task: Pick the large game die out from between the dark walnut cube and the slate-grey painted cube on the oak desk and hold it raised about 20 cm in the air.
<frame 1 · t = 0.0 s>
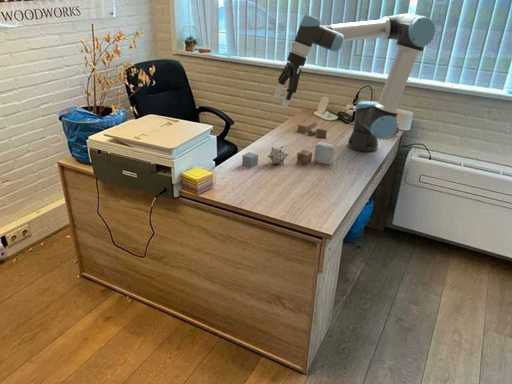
hand: (280, 102, 187), 28 cm above the table, tool tilted 20°, fingers open, 13 cm apart
game die: (277, 164, 198), on the table
wooden block set: (317, 132, 240), on the table
slate grey cube: (250, 165, 195), on the table
medicine box: (323, 162, 201), on the table
walnut cube: (304, 162, 200), on the table
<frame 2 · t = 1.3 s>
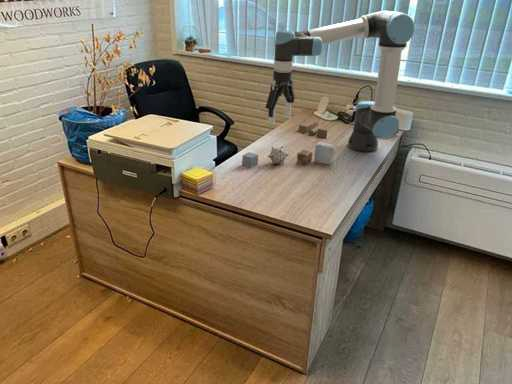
hand: (279, 120, 188), 21 cm above the table, tool pointing down, fingers open, 13 cm apart
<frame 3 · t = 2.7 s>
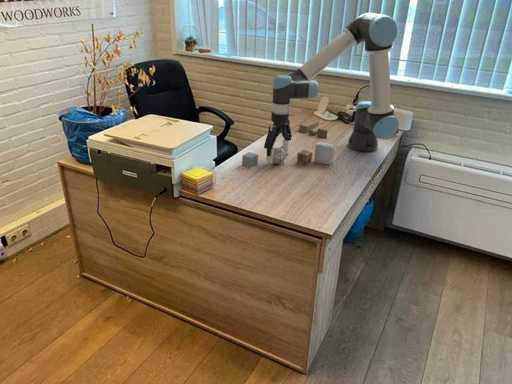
hand: (277, 157, 196), 3 cm above the table, tool pointing down, fingers open, 13 cm apart
nothing on the table moved.
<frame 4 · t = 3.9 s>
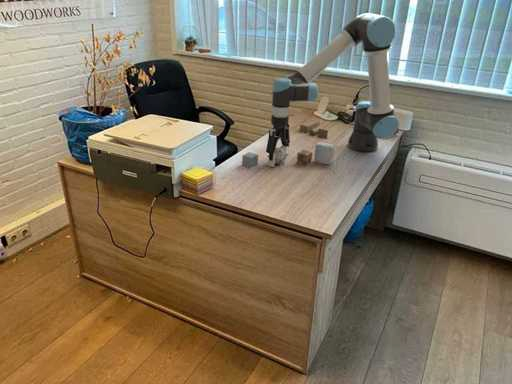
hand: (277, 162, 197), 0 cm above the table, tool pointing down, fingers closed on game die, 9 cm apart
game die: (277, 164, 198), on the table, touching gripper
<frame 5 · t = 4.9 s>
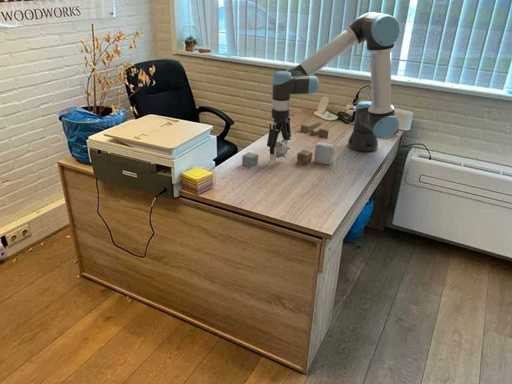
hand: (278, 156, 196), 3 cm above the table, tool pointing down, fingers closed on game die, 9 cm apart
game die: (278, 158, 196), point 3 cm above the table, touching gripper
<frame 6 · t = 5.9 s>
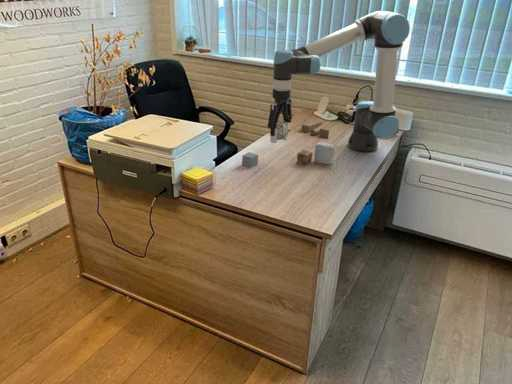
hand: (279, 139, 192), 12 cm above the table, tool pointing down, fingers closed on game die, 9 cm apart
game die: (279, 140, 193), point 11 cm above the table, touching gripper
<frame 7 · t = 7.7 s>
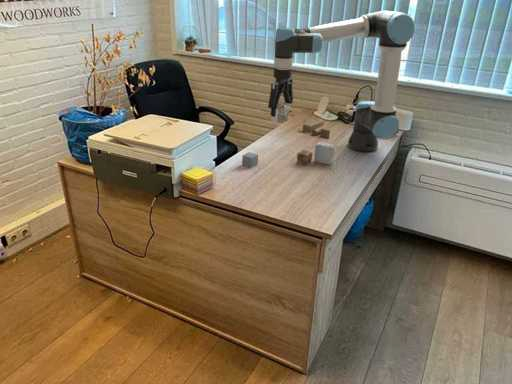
hand: (280, 120, 188), 20 cm above the table, tool pointing down, fingers closed on game die, 9 cm apart
game die: (280, 121, 189), point 20 cm above the table, touching gripper
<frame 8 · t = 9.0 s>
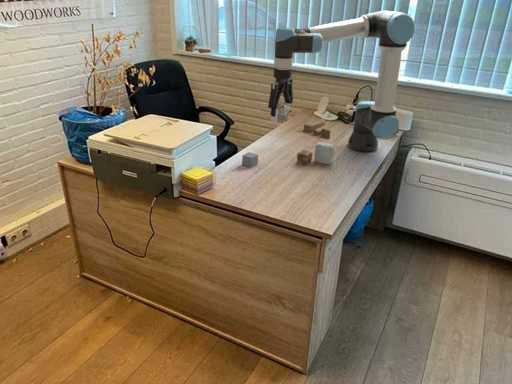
hand: (280, 120, 188), 20 cm above the table, tool pointing down, fingers closed on game die, 9 cm apart
game die: (280, 121, 189), point 20 cm above the table, touching gripper
at the end: game die point 19.8 cm above the table; walnut cube moved 0.1 cm from its start; slate grey cube moved 0.1 cm from its start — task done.
